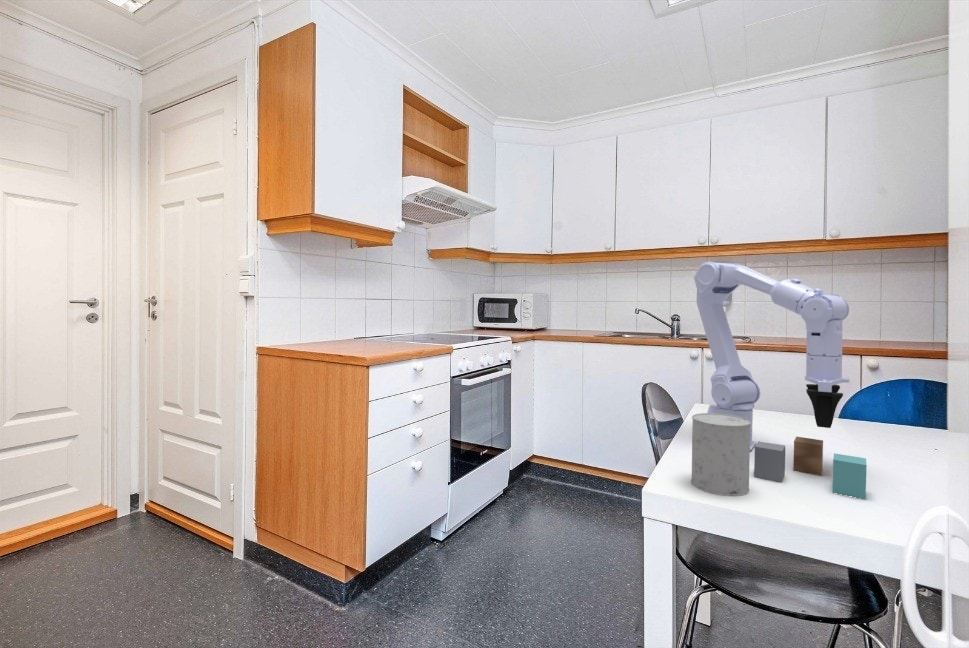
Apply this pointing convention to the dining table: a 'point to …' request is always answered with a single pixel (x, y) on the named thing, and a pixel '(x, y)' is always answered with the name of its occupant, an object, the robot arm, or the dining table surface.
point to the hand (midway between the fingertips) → (823, 423)
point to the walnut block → (808, 455)
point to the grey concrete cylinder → (720, 453)
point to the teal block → (849, 476)
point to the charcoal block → (769, 461)
